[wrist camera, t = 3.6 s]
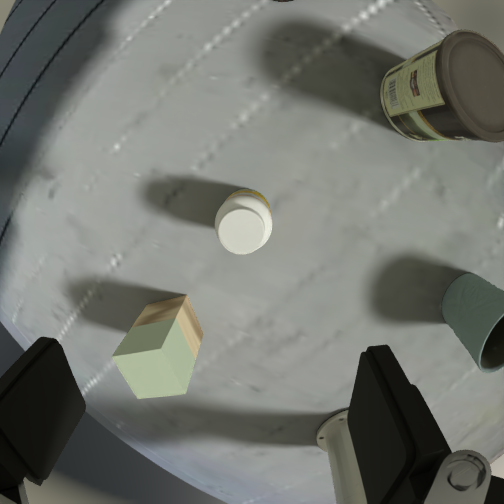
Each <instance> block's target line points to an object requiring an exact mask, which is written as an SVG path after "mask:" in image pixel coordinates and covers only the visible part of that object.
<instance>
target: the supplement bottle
mask: <svg viewBox="0 0 504 504" xmlns="http://www.w3.org/2000/svg"><path fill="white" fill-rule="evenodd" d="M215 231H216V234H217V236H218V238H219V240H220V242H221V243H222V245H223V246H224V247H225V248H226V249H227V250H228V251H230V252H232V253H235V254H241V255H242V254H248V253H251V252H253V251H255V250H256V249H258V248H260V247H261V246H263V245H264V244H265V243H266V241H267V240H268V238H269V237H270V234H271V231H272V217H271V211H270V207H269V204H268V202H267V200H266V199H265V197H264V196H263V195H262V194H260V193H259V192H257V191H255V190H251V189H241V190H238V191H235V192H234V193H232V194H231V195H230V196H229V197H228V198H227V199H226V200H225V202H224V203H223V204H222V206H221V207H220V208H219V210H218V212H217V214H216V218H215Z"/></svg>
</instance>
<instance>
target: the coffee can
mask: <svg viewBox="0 0 504 504" xmlns="http://www.w3.org/2000/svg"><path fill="white" fill-rule="evenodd" d="M380 98H381V104H382V108H383V110H384V113H385V115H386V117H387V119H388V120H389V122H390V123H391V125H392V126H393V127H394V128H395V129H396V130H397V131H398V132H399V133H400V134H402V135H403V136H405V137H407V138H408V139H411V140H414V141H419V142H426V141H439V140H483V141H487V142H501V141H504V54H503V53H502V52H501V50H500V49H499V48H498V47H497V46H496V45H495V44H494V43H493V42H492V41H490V40H489V39H488V38H486V37H485V36H483V35H481V34H479V33H477V32H474V31H471V30H457V31H454V32H452V33H450V34H449V35H447V36H446V37H445V38H444V39H443V40H441V41H439V42H437V43H436V44H434V45H432V46H430V47H428V48H427V49H425V50H423V51H421V52H420V53H418V54H416V55H414V56H413V57H411V58H409V59H408V60H406V61H404V62H403V63H401V64H399V65H396V66H394V67H393V68H391V69H390V70H389V71H388V72H387V73H386V75H385V76H384V78H383V80H382V84H381V89H380Z"/></svg>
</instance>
